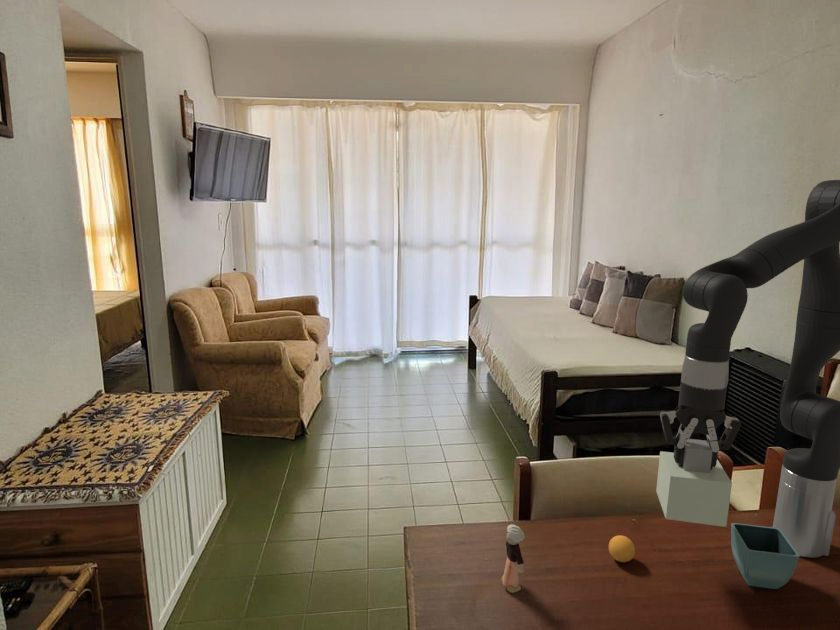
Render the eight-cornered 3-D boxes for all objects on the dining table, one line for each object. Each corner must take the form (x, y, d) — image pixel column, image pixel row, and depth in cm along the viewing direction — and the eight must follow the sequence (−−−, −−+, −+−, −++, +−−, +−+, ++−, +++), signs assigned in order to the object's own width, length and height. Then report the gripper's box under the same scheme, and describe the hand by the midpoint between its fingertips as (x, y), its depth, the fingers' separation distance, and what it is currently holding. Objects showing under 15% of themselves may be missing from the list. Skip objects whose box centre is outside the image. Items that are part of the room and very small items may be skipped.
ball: (632, 553, 110) (634, 532, 109) (635, 569, 106) (637, 547, 105) (606, 550, 112) (608, 528, 111) (609, 565, 107) (610, 543, 106)
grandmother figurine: (492, 576, 104) (494, 517, 101) (509, 570, 105) (511, 513, 103) (514, 602, 97) (517, 541, 94) (532, 596, 99) (535, 535, 96)
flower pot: (794, 599, 98) (801, 556, 96) (741, 592, 99) (747, 550, 98) (773, 567, 106) (779, 527, 104) (724, 562, 108) (730, 522, 106)
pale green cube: (710, 497, 107) (718, 435, 104) (726, 527, 97) (735, 459, 94) (656, 490, 109) (662, 430, 106) (665, 519, 100) (672, 453, 97)
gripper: (740, 377, 100) (729, 461, 103) (658, 371, 103) (650, 453, 107) (754, 390, 93) (742, 480, 96) (665, 384, 96) (657, 471, 100)
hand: (693, 465), depth 101 cm, fingers closed on pale green cube, 4 cm apart
